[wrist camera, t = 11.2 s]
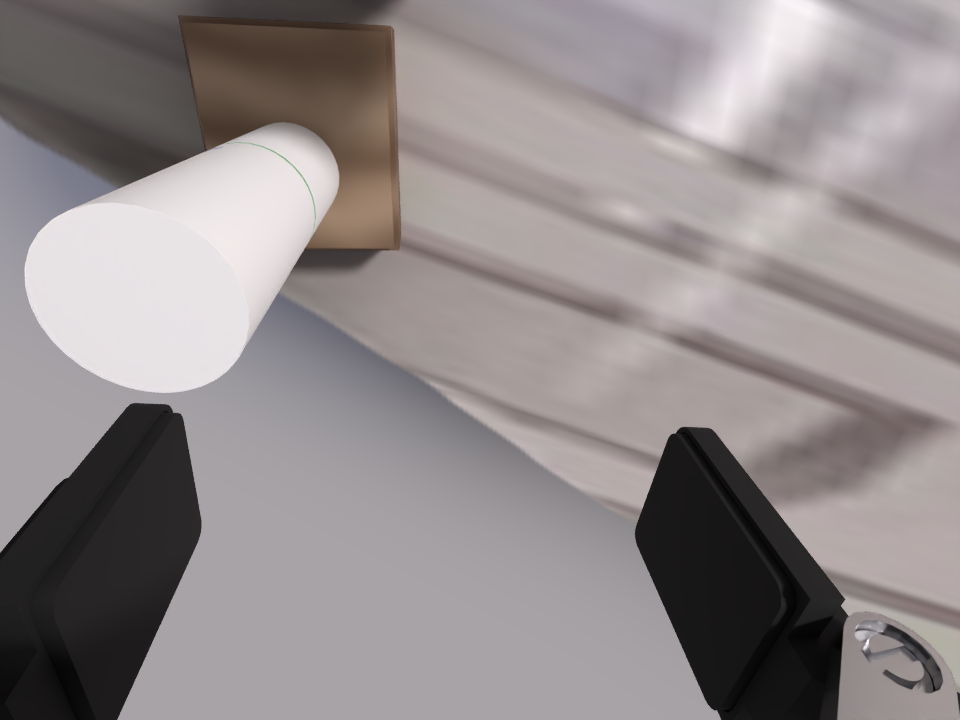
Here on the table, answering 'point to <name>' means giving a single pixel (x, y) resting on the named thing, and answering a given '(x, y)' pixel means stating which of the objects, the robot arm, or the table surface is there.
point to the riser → (309, 107)
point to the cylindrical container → (181, 259)
